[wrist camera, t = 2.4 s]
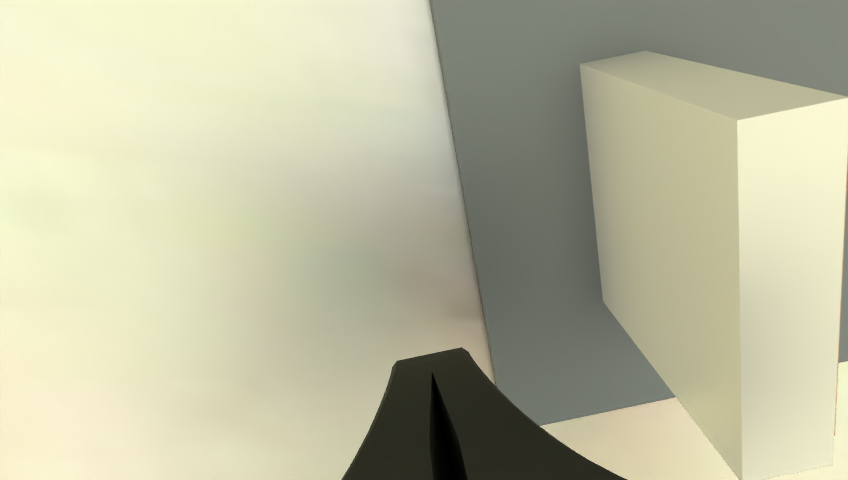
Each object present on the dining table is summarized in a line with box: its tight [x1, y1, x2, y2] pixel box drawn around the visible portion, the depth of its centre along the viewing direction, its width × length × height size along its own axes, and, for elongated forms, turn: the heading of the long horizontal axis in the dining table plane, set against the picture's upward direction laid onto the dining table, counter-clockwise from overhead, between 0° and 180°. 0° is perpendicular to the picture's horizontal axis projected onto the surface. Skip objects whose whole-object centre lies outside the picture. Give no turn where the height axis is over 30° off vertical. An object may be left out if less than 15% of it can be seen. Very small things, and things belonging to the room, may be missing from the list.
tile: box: [580, 51, 848, 480], centre depth 17 cm, size 8×2×9 cm, turn 11°
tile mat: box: [430, 0, 848, 426], centre depth 22 cm, size 17×16×1 cm
